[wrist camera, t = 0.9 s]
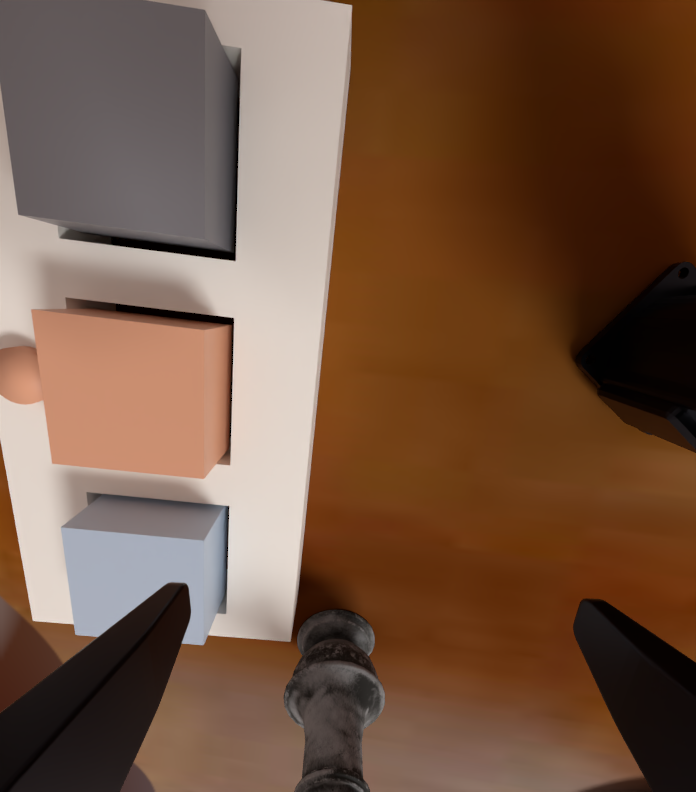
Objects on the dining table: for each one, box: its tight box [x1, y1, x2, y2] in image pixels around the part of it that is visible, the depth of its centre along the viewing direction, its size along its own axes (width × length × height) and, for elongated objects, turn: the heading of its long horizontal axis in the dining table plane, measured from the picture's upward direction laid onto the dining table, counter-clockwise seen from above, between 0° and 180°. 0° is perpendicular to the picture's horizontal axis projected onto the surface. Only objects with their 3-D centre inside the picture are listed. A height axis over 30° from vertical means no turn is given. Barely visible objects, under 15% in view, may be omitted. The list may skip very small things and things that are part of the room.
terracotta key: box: [31, 308, 232, 479], centre depth 14 cm, size 6×6×3 cm
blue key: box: [61, 494, 228, 645], centre depth 16 cm, size 6×6×3 cm
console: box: [0, 0, 352, 642], centre depth 15 cm, size 28×14×4 cm, turn 173°
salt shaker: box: [284, 610, 385, 792], centre depth 16 cm, size 6×6×12 cm
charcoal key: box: [0, 0, 238, 253], centre depth 11 cm, size 6×6×3 cm
